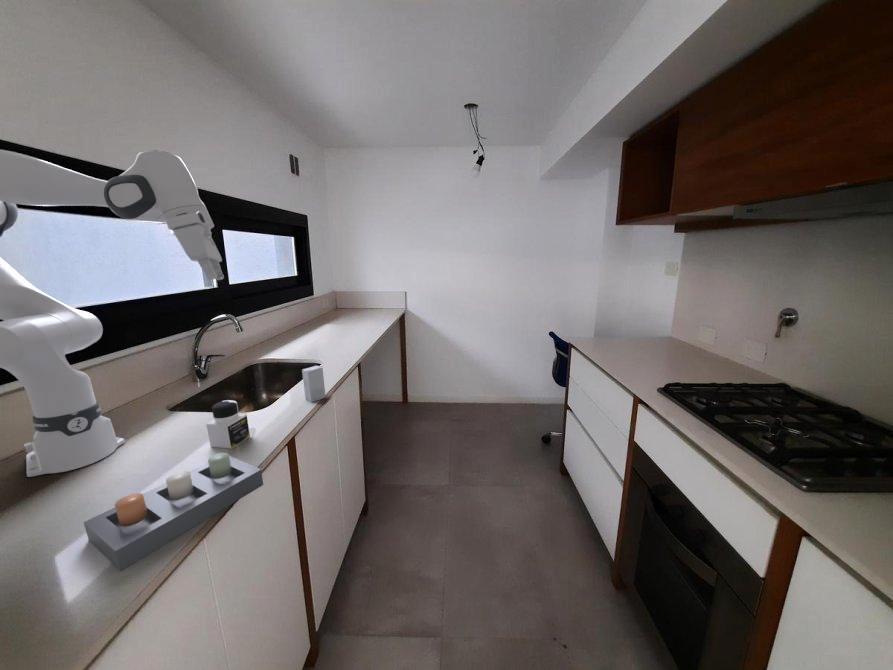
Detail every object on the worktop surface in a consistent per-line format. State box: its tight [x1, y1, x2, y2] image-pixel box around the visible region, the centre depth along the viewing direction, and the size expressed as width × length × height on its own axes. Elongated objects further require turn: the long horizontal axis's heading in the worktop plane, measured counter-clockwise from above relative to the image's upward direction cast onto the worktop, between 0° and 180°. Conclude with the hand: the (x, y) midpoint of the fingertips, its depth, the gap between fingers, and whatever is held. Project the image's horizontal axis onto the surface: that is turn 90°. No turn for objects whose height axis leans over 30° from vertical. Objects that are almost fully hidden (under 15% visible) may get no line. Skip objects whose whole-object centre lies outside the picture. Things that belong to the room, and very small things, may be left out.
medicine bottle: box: [206, 399, 251, 450], centre depth 100 cm, size 7×7×12 cm
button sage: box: [207, 452, 232, 479], centre depth 80 cm, size 4×4×4 cm
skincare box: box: [301, 365, 327, 403], centre depth 130 cm, size 6×4×12 cm
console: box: [83, 455, 264, 572], centre depth 74 cm, size 14×26×4 cm, turn 151°
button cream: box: [165, 470, 194, 500], centre depth 73 cm, size 4×4×4 cm
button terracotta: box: [114, 492, 148, 527], centre depth 66 cm, size 4×4×4 cm
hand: (217, 279), depth 88 cm, fingers open, 8 cm apart
